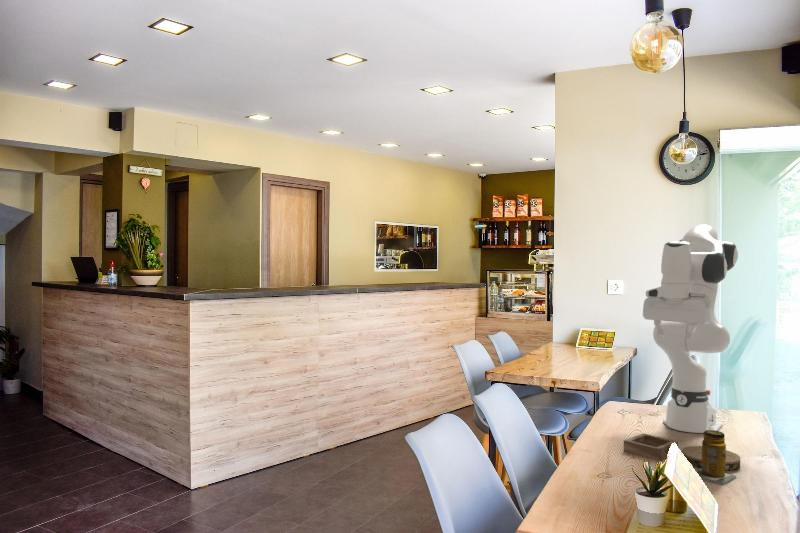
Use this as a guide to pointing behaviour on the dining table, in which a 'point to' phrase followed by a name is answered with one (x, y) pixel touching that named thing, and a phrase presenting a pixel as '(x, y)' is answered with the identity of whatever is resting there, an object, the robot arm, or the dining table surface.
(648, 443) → the holder
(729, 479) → the coaster
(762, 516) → the dining table surface
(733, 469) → the round cork trivet
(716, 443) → the condiment
